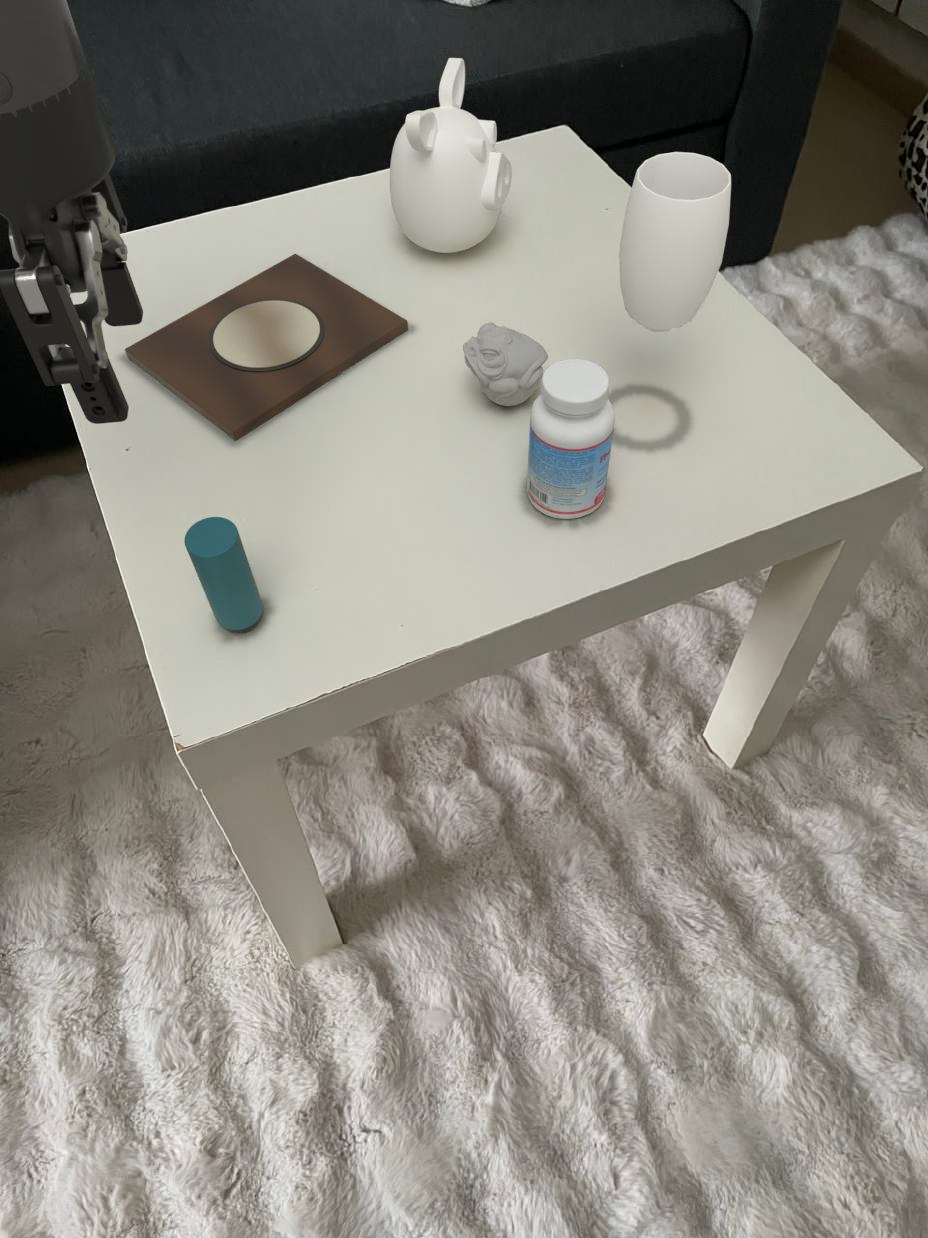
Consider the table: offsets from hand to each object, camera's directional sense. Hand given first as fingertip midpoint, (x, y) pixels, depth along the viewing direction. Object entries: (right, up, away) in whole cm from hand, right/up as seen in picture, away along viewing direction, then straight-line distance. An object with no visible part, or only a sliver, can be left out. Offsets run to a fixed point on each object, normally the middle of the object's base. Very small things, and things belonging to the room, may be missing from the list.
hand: (118, 368), depth 53 cm
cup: (+35, +2, +24) cm, 43 cm away
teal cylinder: (+4, -14, +13) cm, 20 cm away
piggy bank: (+19, +24, +40) cm, 50 cm away
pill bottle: (+28, -5, +20) cm, 34 cm away
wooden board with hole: (+2, +11, +31) cm, 33 cm away
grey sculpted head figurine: (+23, +4, +26) cm, 35 cm away
